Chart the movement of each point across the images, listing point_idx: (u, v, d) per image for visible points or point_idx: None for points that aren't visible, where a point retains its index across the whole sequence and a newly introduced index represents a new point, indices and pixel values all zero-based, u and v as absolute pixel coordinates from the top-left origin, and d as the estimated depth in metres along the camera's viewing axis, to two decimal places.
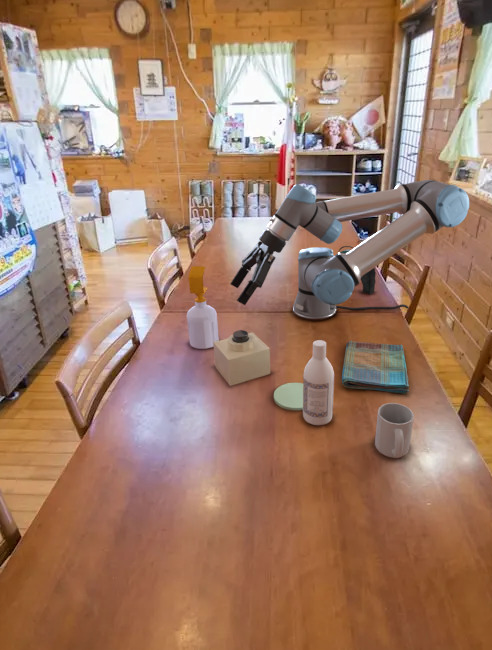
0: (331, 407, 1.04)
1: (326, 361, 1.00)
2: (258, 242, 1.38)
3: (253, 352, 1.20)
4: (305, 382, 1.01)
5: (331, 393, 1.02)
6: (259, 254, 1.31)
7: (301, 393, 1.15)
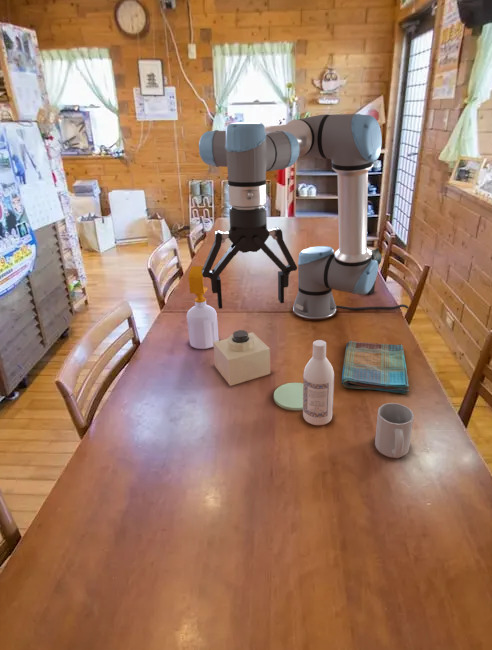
0: (331, 407, 1.04)
1: (326, 361, 1.00)
2: (219, 235, 0.91)
3: (253, 352, 1.20)
4: (305, 382, 1.01)
5: (331, 393, 1.02)
6: (260, 242, 0.93)
7: (301, 393, 1.15)
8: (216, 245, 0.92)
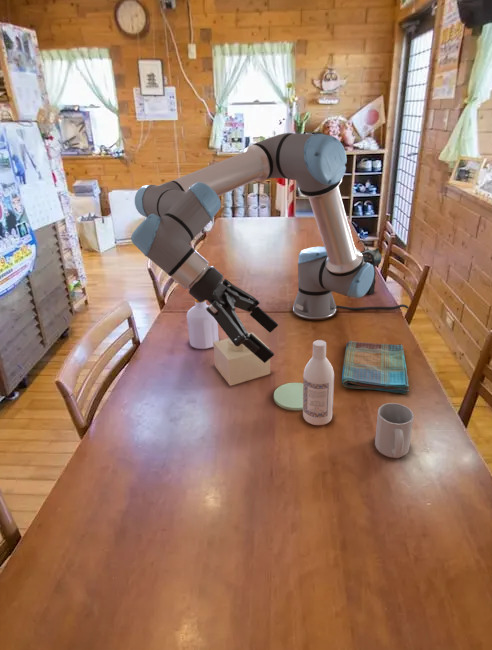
0: (331, 407, 1.04)
1: (326, 361, 1.00)
2: None
3: None
4: (305, 382, 1.01)
5: (331, 393, 1.02)
6: None
7: (301, 393, 1.15)
8: None
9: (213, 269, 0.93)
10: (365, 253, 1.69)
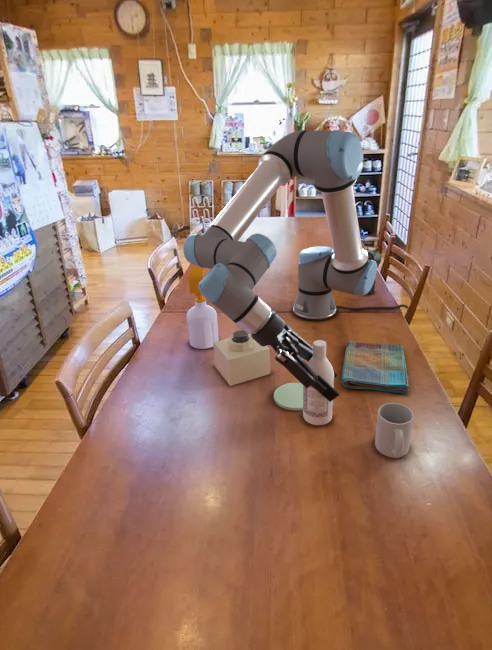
0: (331, 407, 1.04)
1: (326, 361, 1.00)
2: None
3: (253, 352, 1.20)
4: None
5: None
6: None
7: (301, 393, 1.15)
8: None
9: (276, 315, 0.96)
10: None
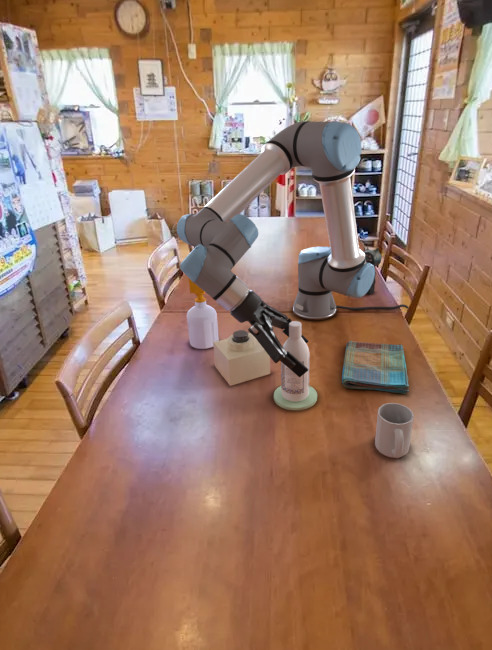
0: (307, 384, 1.11)
1: (301, 341, 1.07)
2: None
3: (253, 352, 1.20)
4: None
5: (307, 371, 1.09)
6: None
7: None
8: None
9: (253, 293, 1.03)
10: (365, 253, 1.69)
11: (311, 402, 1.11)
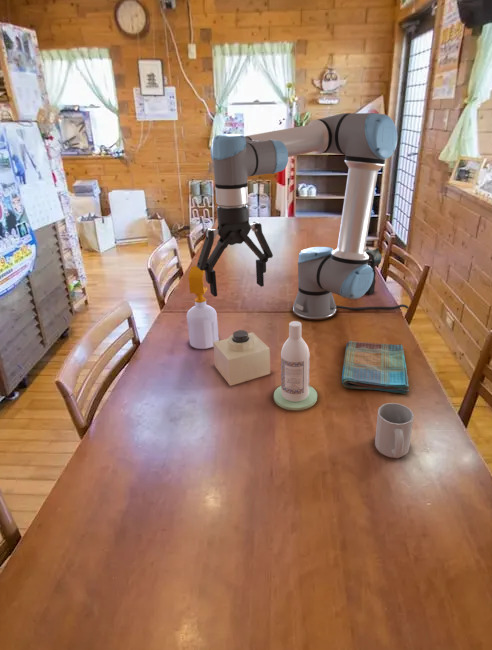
0: (307, 384, 1.11)
1: (301, 341, 1.07)
2: None
3: (253, 352, 1.20)
4: (282, 361, 1.08)
5: (307, 371, 1.09)
6: None
7: None
8: None
9: (237, 212, 1.04)
10: None
11: (311, 402, 1.11)
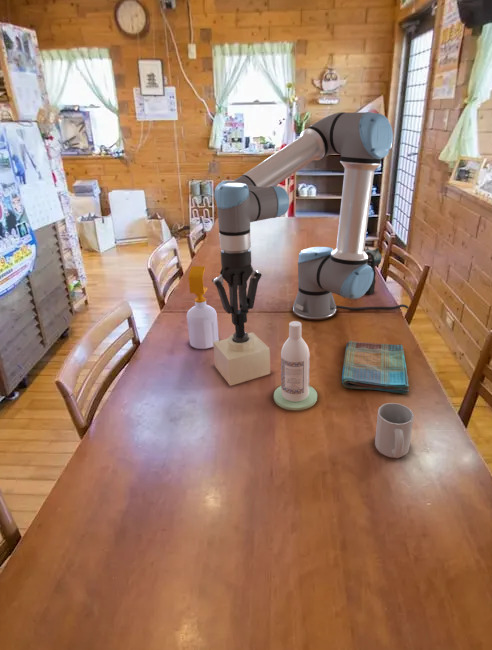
0: (307, 384, 1.11)
1: (301, 341, 1.07)
2: None
3: (253, 352, 1.20)
4: (282, 361, 1.08)
5: (307, 371, 1.09)
6: None
7: None
8: None
9: (240, 257, 1.09)
10: None
11: (311, 402, 1.11)
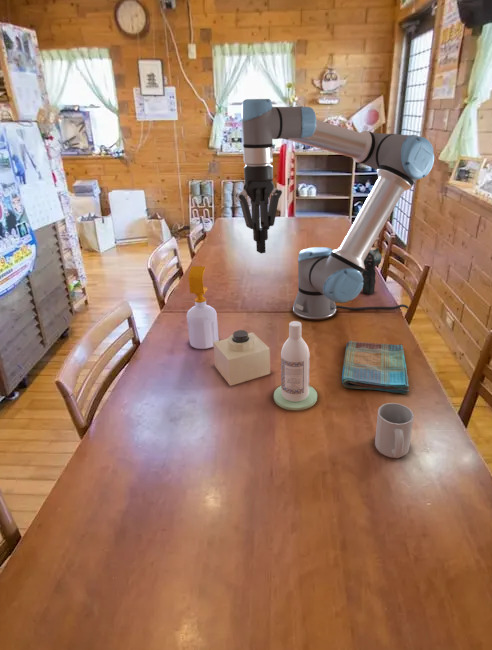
0: (307, 384, 1.11)
1: (301, 341, 1.07)
2: None
3: (253, 352, 1.20)
4: (282, 361, 1.08)
5: (307, 371, 1.09)
6: None
7: None
8: None
9: (263, 170, 1.15)
10: None
11: (311, 402, 1.11)
